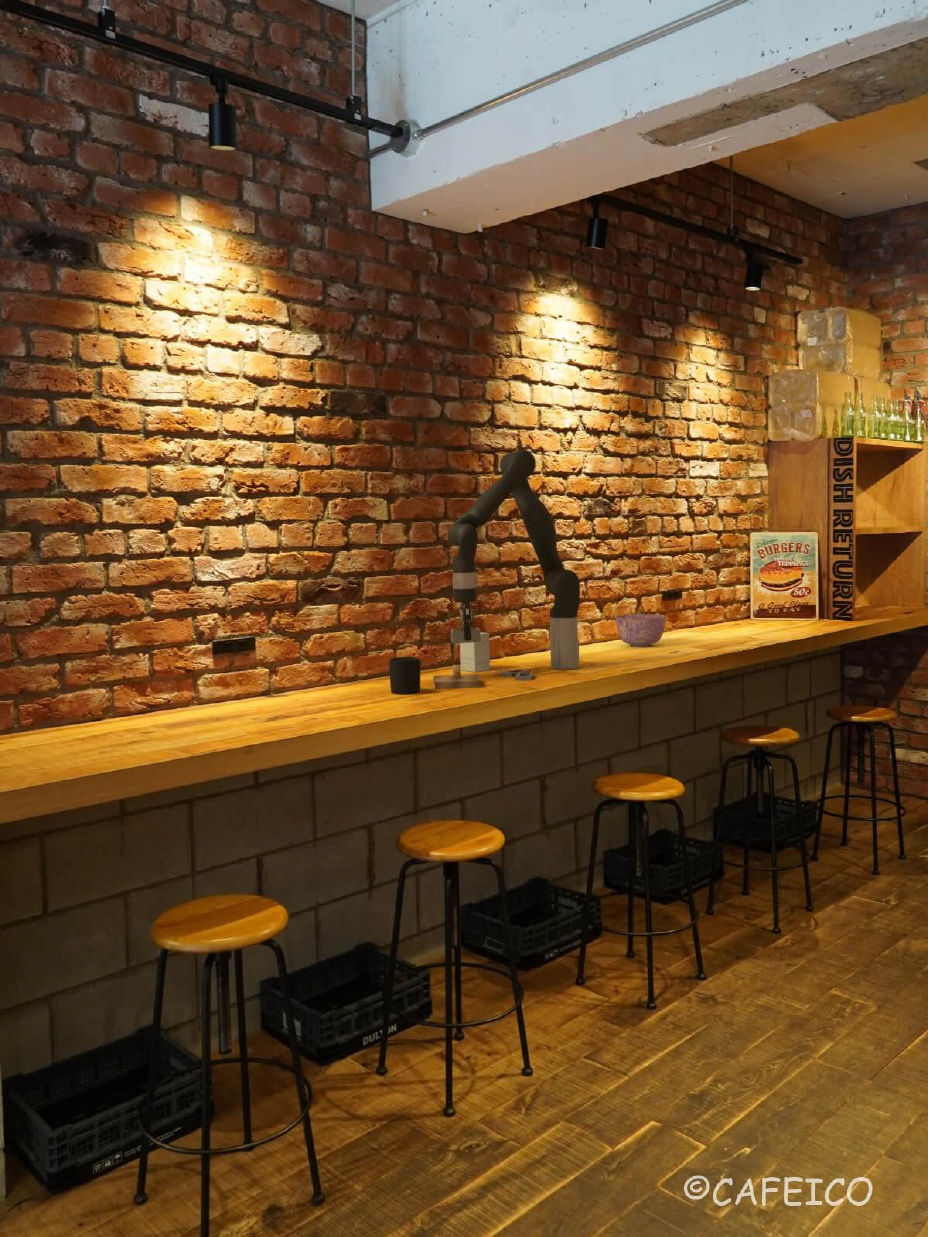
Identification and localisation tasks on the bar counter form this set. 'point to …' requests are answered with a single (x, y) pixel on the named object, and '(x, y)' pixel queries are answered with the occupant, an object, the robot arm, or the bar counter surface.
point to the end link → (458, 635)
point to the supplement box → (475, 655)
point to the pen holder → (404, 675)
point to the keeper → (457, 680)
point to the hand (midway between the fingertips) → (467, 638)
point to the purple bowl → (640, 629)
